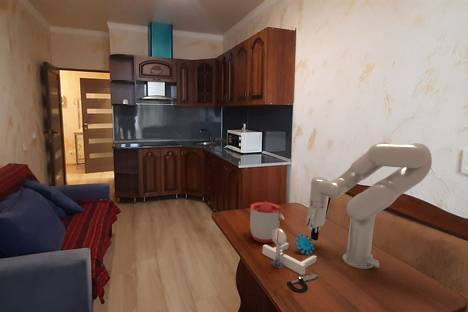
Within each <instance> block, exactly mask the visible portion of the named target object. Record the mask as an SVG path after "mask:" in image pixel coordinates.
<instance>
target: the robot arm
mask: <svg viewBox="0 0 468 312" xmlns="http://www.w3.org/2000/svg"><path fill="white" fill-rule="evenodd" d="M432 162H433V160H432V153H431V150H430V149H429V148H428V146H426V144H423V143H419V142H418V143H411V144H390V143H388V142H385V141H384V142H383V141H382V142H378V143H375V144H373V145H371V147H369V149H368V151H366V152H365V153H364V154H362V155H361V156H360V157H359V158H356V160H355V161H353V162H352V163H351V164H350V167H349V168H348V169H347V170H346V171H345V172H343V173H342V174H341V175H339V176H337V178H335V179H332V180H329V181H328V179H327V178H325V177H320V176H314V177H313V178H312V179H311V183H310V193H309V204H308V205H309V206H308V207H307V210H306V218H305V226H308V227H307V230H309V231H310V238H311V239H312V241H314V242H315V241H318V240H319V236H320V234H319V232H321V231H320V229H321V227H323V225H324V224H325V223H326V214H327V213H326V207H327V197H328V198H331V199H337V198H339V197H341V196H342V195H344V194H345V193H347V192H348V191H349V190H351V189H352V188H353V187H355V186H356V185H357V184H359V183H360V182H362V181H364V180H366V179H367V178H369V177H370V176H371V175H373V174H374V173H376V172H377V171H379V170H380V169H382V168H383V167H388V168H389V167H391V168H398V169H397V170H395V171H394V172H392V173H391V174H389V175H388V176H385V178H383V179H381V180H379V181H377V182H375V183H374V184H372V185H370V186H369V187H368V188H366V189H364V190H363V191H362V192H359V193H358V194H356V195H354V197H352V198H351V199H350V200H349V201H347V204H346V207H345V208H346V209H345V210H346V213H347V215H348V217H349V218H350V221H349V222H350V223H349V227H348V228H349V230H348V239H347V249H346V252H345V253H344V254H343V255H342V261H343V262H344V263H345V264H347V265H348V266H350V267H353V268H356V269H360V270H369V269H371V268H373V267H375V268H379V267H380V262H379V260H377V259H374V257H373V254H372V246H373V245H372V244H373V243H372V242H373V236H374V235H373V234H374V228H375V222H376V221H375V220H376V217H377V214H378V213H380V212H382V211H383V210H385V209H387V208H389V207H390V206H391V205H393V203H394V202H395V201H396V200H397V198H399V197H400V196H401V195H403V194H404V193H406V192H408V191H409V190H411V189H412V188H414V187H415V186H417V185H418V184H421V182H422V181H423V180H424V179H425V178H426V177H427V175H428V174H429V172H430V170H431V168H432Z"/></svg>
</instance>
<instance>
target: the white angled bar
mask: <svg viewBox="0 0 468 312" xmlns="http://www.w3.org/2000/svg"><path fill="white" fill-rule="evenodd" d="M289 246H290V243H289V242H287V241H286V243H285V244H284V245H282V246H281V250H282V249H285V251H286V250H288V249H289ZM262 254H263V255H264V256H266V257H268V258H269V259H271V260H272V261H274V260H275V255H276V246H274V247H272V246H270V245H268V244H264V245H262ZM280 263H282V264H283V265H284V267H286V268H287V269H290V270H291V271H293V272H294V273H295V272H296V273H297V274H299V275H300V276H304V275H305V274H306V269H307V268H308V267H309V266H311V265H313V264H314V263H317V256H316V255H312V256H309V257H307V258H305V259H303V260H302V261H299V260H298V259H296V258H294V257H292V256H289V255H287V253H283V252H281V253H280Z"/></svg>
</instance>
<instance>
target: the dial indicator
mask: <svg viewBox="0 0 468 312" xmlns="http://www.w3.org/2000/svg"><path fill="white" fill-rule="evenodd" d="M272 240H273V243H274V244H275V247H276V255H275V260H272V261H271V262H270V263H269V265H270V266H273V267H274V268H276V269H278V270H282V269H284V268H285V266H284V265H283V264H282V263H280V253H281V252H282V253H283V252H285V251H286V250H285V249H282V250H281V246H282V245H284V244H285V243H286V242H287V241H288V237H287V233H286V232H285V230H283V228H280V227H279V228H277V229H275V230H273V231H272Z"/></svg>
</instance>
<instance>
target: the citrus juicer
mask: <svg viewBox="0 0 468 312" xmlns="http://www.w3.org/2000/svg"><path fill="white" fill-rule="evenodd" d="M249 206H250V216H249V217H250V219H249V222H250V223H249V227H250V233H251V236H252V239H253V240H255V242H259V243H265V244H267V243H268V244H269V243H272V242H273V240H272V231H273V230H275V229H277V228H280V222H281V220H282V221H283V220H285V217H284V215H283V214H282V213H281V206H280V205H278V204H276V203H273V202H268V201H264V202H254V203H252V204H250V205H249ZM273 243H274V242H273Z"/></svg>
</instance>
